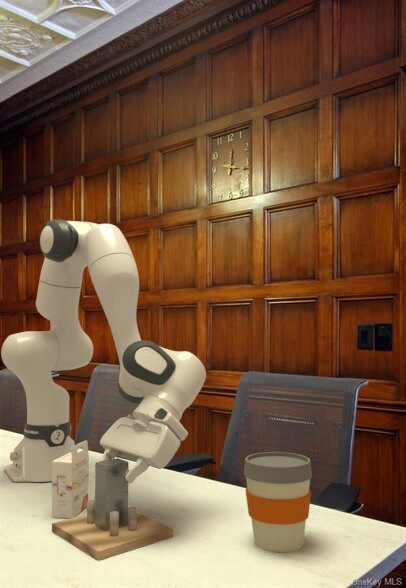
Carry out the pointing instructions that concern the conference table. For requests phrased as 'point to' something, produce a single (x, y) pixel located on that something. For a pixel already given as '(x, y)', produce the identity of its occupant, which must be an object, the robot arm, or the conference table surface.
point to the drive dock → (107, 542)
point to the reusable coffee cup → (278, 499)
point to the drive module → (110, 492)
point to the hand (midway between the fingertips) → (113, 475)
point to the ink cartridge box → (70, 482)
